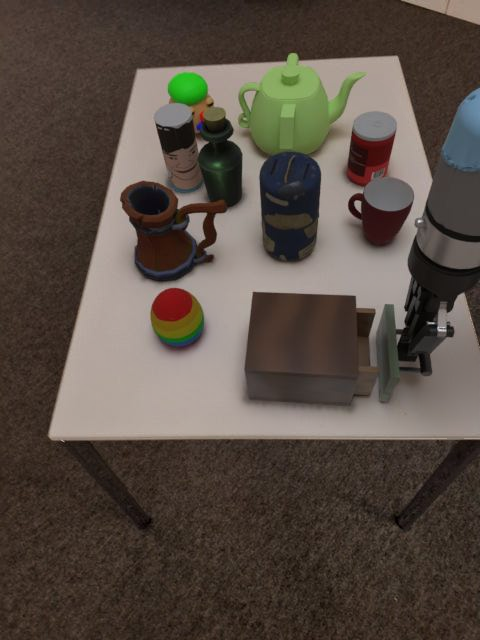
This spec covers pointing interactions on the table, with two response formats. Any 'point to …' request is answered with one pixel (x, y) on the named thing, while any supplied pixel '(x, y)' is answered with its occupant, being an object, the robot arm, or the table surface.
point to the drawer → (382, 354)
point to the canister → (290, 204)
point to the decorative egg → (177, 317)
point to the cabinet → (302, 348)
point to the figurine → (191, 95)
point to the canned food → (370, 146)
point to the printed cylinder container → (179, 146)
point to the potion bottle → (220, 158)
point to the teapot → (292, 108)
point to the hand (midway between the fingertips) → (404, 356)
